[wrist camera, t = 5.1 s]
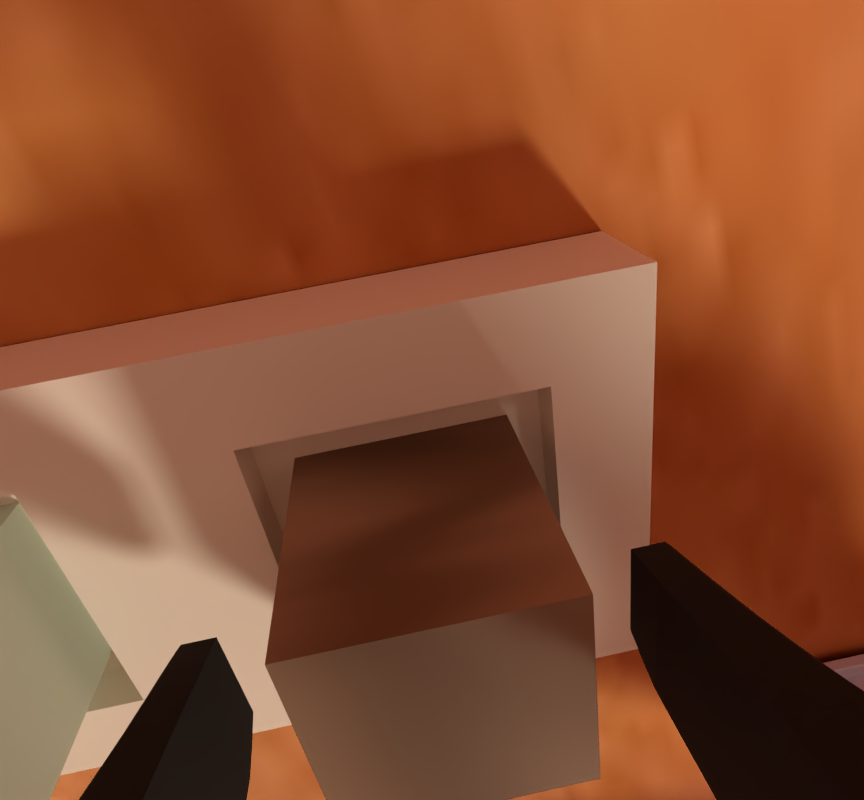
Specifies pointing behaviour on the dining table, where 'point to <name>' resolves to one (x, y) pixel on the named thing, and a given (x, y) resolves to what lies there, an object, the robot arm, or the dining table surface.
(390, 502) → the walnut block
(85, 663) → the sage block
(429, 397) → the base board
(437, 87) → the dining table surface
